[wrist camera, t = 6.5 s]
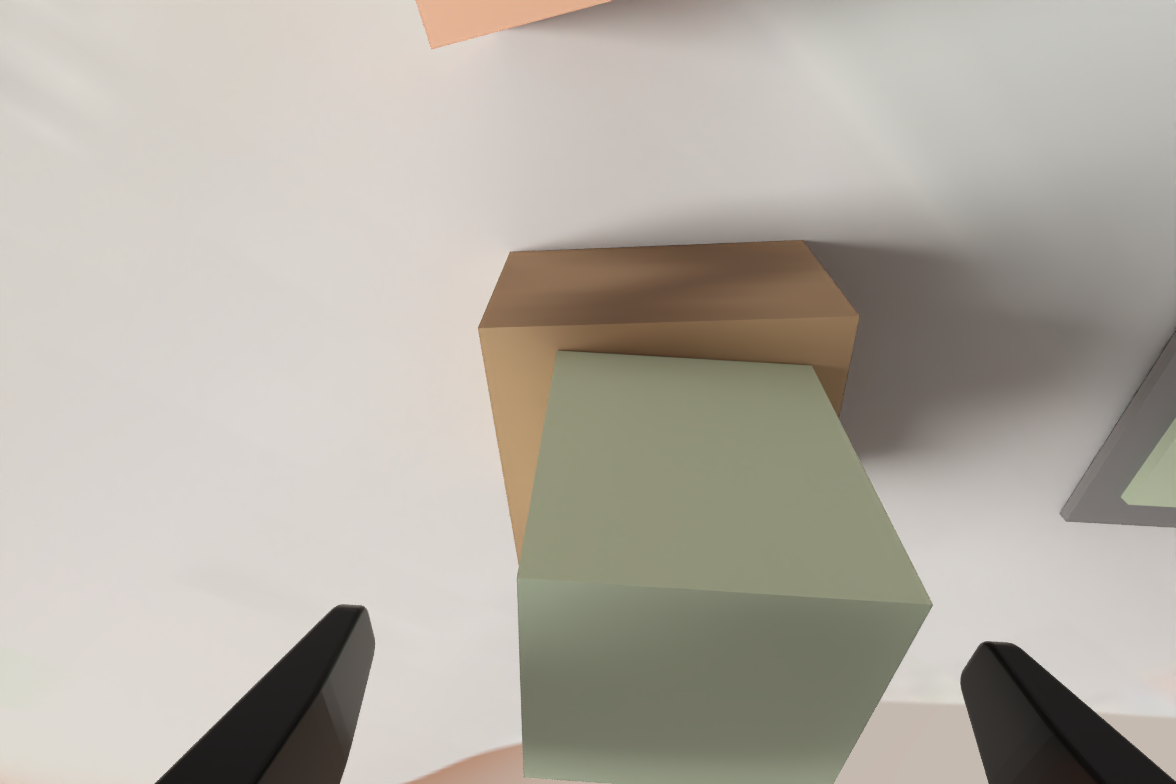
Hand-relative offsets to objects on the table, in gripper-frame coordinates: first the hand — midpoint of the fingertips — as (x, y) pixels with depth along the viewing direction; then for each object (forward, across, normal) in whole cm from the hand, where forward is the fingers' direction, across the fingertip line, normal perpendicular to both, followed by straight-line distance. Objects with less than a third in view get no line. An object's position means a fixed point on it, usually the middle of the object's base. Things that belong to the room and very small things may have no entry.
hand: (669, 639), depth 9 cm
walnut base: (+8, 0, 0) cm, 8 cm away
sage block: (+4, 0, 0) cm, 4 cm away
